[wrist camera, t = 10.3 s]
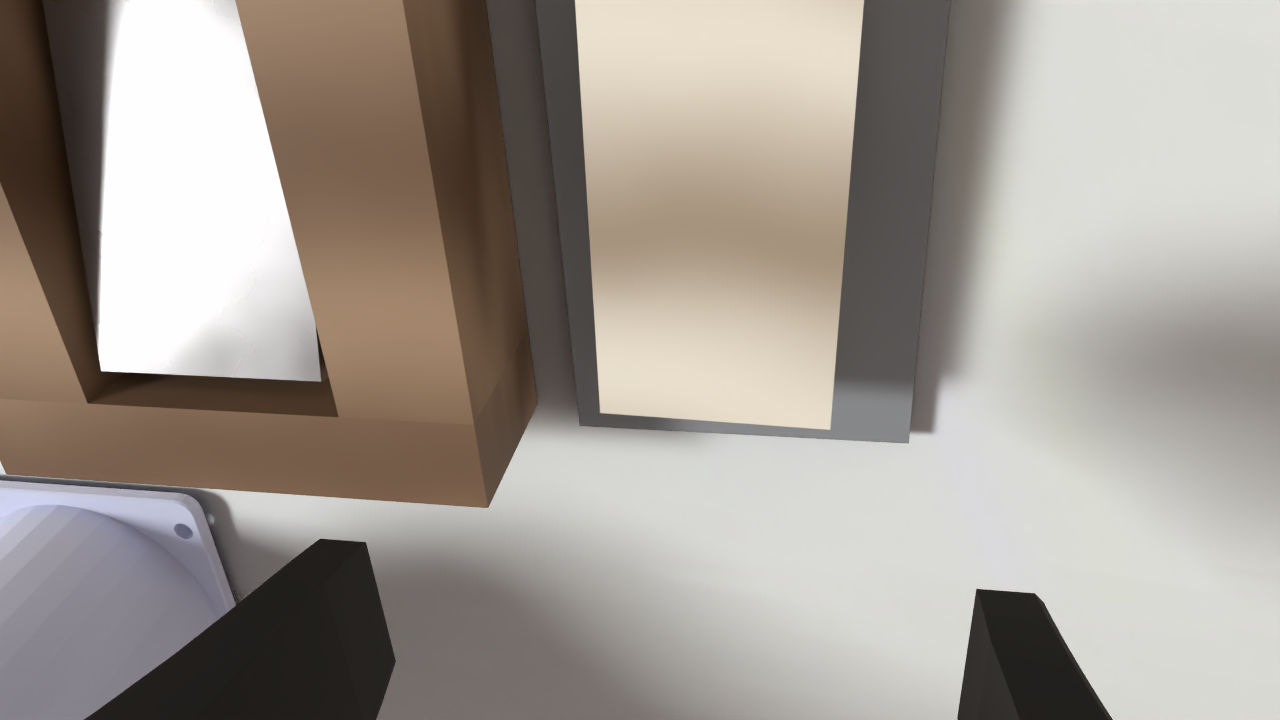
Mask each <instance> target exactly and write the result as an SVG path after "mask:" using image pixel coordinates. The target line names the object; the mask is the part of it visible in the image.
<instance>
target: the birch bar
mask: <svg viewBox="0 0 1280 720" xmlns="http://www.w3.org/2000/svg"><path fill="white" fill-rule="evenodd" d="M863 7H864V0H575V9H576V25H577V41H578V58H579V74H580V91H581V107H582V123H583V140H584V156H585V173H586V189H587V205H588V222H589V238H590V255H591V271H592V287H593V304H594V320H595V337H596V353H597V369H598V386H599V402H600V413H607V414H621V415H635V416H648V417H662V418H675V419H689V420H703V421H716V422H730V423H743V424H757V425H771V426H784V427H798V428H812V429H825V430H830V426H831V414H832V401H833V388H834V375H835V363H836V350H837V337H838V325H839V312H840V299H841V286H842V274H843V261H844V248H845V236H846V223H847V210H848V198H849V185H850V172H851V159H852V147H853V134H854V121H855V109H856V96H857V83H858V71H859V58H860V45H861V32H862V20H863Z"/></svg>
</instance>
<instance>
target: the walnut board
mask: <svg viewBox="0 0 1280 720" xmlns="http://www.w3.org/2000/svg"><path fill="white" fill-rule="evenodd" d="M235 2H236V6H237V10H238V14H239V18H240V22H241V26H242V30H243V34H244V38H245V42H246V46H247V50H248V54H249V58H250V62H251V66H252V70H253V74H254V78H255V82H256V86H257V90H258V94H259V98H260V102H261V106H262V110H263V114H264V118H265V122H266V126H267V130H268V134H269V138H270V143H271V147H272V151H273V155H274V159H275V163H276V167H277V171H278V175H279V179H280V183H281V187H282V191H283V195H284V199H285V203H286V207H287V211H288V215H289V219H290V223H291V227H292V231H293V235H294V239H295V243H296V247H297V251H298V255H299V259H300V263H301V267H302V271H303V275H304V279H305V283H306V287H307V291H308V295H309V299H310V303H311V307H312V311H313V315H314V320H315V324H316V328H317V332H318V336H319V340H320V344H321V348H322V352H323V356H324V360H325V364H326V368H327V372H328V376H329V377H328V378H326V379H325V380H323V381H321V382H319V381H298V380H277V379H256V378H236V377H215V376H194V375H173V374H152V373H131V372H110V371H101V367H100V361H99V355H98V348H97V342H96V336H95V329H94V323H93V317H92V310H91V304H90V298H89V291H88V285H87V279H86V272H85V266H84V260H83V253H82V247H81V241H80V234H79V228H78V222H77V215H76V209H75V203H74V196H73V190H72V184H71V177H70V171H69V165H68V158H67V152H66V146H65V139H64V133H63V127H62V120H61V114H60V108H59V101H58V95H57V89H56V82H55V76H54V70H53V63H52V57H51V51H50V44H49V38H48V32H47V25H46V19H45V13H44V6H43V0H0V461H1V463H2V466H3V468H4V470H5V472H6V474H8V475H22V476H37V477H51V478H65V479H80V480H94V481H108V482H123V483H137V484H152V485H166V486H180V487H195V488H209V489H223V490H238V491H252V492H267V493H281V494H295V495H310V496H324V497H338V498H353V499H367V500H382V501H396V502H410V503H425V504H439V505H453V506H468V507H482V508H488V507H489V505H490V503H491V501H492V498H493V496H494V494H495V492H496V490H497V488H498V486H499V484H500V482H501V480H502V477H503V475H504V473H505V471H506V469H507V467H508V465H509V463H510V461H511V459H512V456H513V454H514V452H515V450H516V448H517V446H518V444H519V442H520V440H521V438H522V435H523V433H524V431H525V429H526V427H527V425H528V423H529V421H530V419H531V417H532V414H533V412H534V410H535V408H536V406H537V396H536V388H535V381H534V373H533V365H532V357H531V350H530V342H529V334H528V326H527V318H526V311H525V303H524V295H523V287H522V280H521V272H520V264H519V256H518V249H517V241H516V233H515V225H514V217H513V210H512V202H511V194H510V186H509V179H508V171H507V163H506V155H505V147H504V140H503V132H502V124H501V116H500V109H499V101H498V93H497V85H496V77H495V70H494V62H493V54H492V46H491V39H490V31H489V23H488V15H487V7H486V0H235Z"/></svg>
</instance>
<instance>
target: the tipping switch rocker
mask: <svg viewBox="0 0 1280 720" xmlns="http://www.w3.org/2000/svg"><path fill="white" fill-rule="evenodd" d="M43 6H44V13H45V19H46V25H47V32H48V38H49V44H50V51H51V57H52V63H53V70H54V76H55V82H56V89H57V95H58V101H59V108H60V114H61V120H62V127H63V133H64V139H65V146H66V152H67V158H68V165H69V171H70V177H71V184H72V190H73V196H74V203H75V209H76V215H77V222H78V228H79V234H80V241H81V247H82V253H83V260H84V266H85V272H86V279H87V285H88V291H89V298H90V304H91V310H92V317H93V323H94V329H95V336H96V342H97V348H98V355H99V361H100V367H101V371H110V372H131V373H152V374H173V375H194V376H215V377H236V378H256V379H277V380H298V381H319V382H321V381H323V380H325V379H326V378H328V377H329V376H328V372H327V368H326V364H325V360H324V356H323V352H322V348H321V344H320V340H319V336H318V332H317V328H316V324H315V320H314V315H313V311H312V307H311V303H310V299H309V295H308V291H307V287H306V283H305V279H304V275H303V271H302V267H301V263H300V259H299V255H298V251H297V247H296V243H295V239H294V235H293V231H292V227H291V223H290V219H289V215H288V211H287V207H286V203H285V199H284V195H283V191H282V187H281V183H280V179H279V175H278V171H277V167H276V163H275V159H274V155H273V151H272V147H271V143H270V138H269V134H268V130H267V126H266V122H265V118H264V114H263V110H262V106H261V102H260V98H259V94H258V90H257V86H256V82H255V78H254V74H253V70H252V66H251V62H250V58H249V54H248V50H247V46H246V42H245V38H244V34H243V30H242V26H241V22H240V18H239V14H238V10H237V6H236V2H235V0H43Z"/></svg>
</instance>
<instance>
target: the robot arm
mask: <svg viewBox="0 0 1280 720" xmlns="http://www.w3.org/2000/svg"><path fill="white" fill-rule="evenodd" d="M186 525H187V526H188V527H187V526H186ZM395 662H396V661H395V657H394V653H393V649H392V645H391V641H390V637H389V633H388V629H387V625H386V621H385V617H384V613H383V609H382V605H381V601H380V597H379V593H378V589H377V585H376V581H375V577H374V573H373V569H372V565H371V561H370V557H369V553H368V549H367V545H366V542H354V541H341V540H328V539H319V540H318V541H317V542H315V543H314V544H313V545H311V546H310V547H309V548H307V549H306V550H305V551H303V552H302V553H301V554H300V555H298V556H297V557H296V558H294V559H293V560H292V561H291V562H289V563H288V564H287V565H286V566H284V567H283V568H282V569H281V570H279V571H278V572H277V573H276V574H274V575H273V576H272V577H271V578H269V579H268V580H267V581H266V582H264V583H263V584H262V585H261V586H259V587H258V588H257V589H256V590H255V591H253V592H252V593H251V594H250V595H248V596H247V597H246V598H245V599H243V600H242V601H241V602H240V603H238V604H237V605H236V604H235V601H234V598H233V595H232V592H231V589H230V587H229V584H228V581H227V578H226V575H225V572H224V569H223V567H222V564H221V561H220V558H219V555H218V552H217V549H216V546H215V544H214V541H213V538H212V535H211V532H210V529H209V526H208V524H207V521H206V518H205V515H204V512H203V509H202V507H201V506H200V504H199V502H197V501H196V500H195V499H194V498H193V497H191V496H189V495H186V494H182V493H172V492H157V491H143V490H129V489H115V488H101V487H87V486H73V485H59V484H45V483H30V482H16V481H2V480H0V720H376V718H377V716H378V713H379V710H380V707H381V705H382V702H383V698H384V695H385V692H386V689H387V686H388V683H389V680H390V677H391V674H392V671H393V668H394V665H395ZM958 720H1113V719H1112V718H1111V716H1110V715H1109V713H1108V712H1107V710H1106V709H1105V707H1104V706H1103V704H1102V702H1101V701H1100V699H1099V698H1098V696H1097V694H1096V693H1095V691H1094V690H1093V688H1092V686H1091V685H1090V683H1089V681H1088V680H1087V678H1086V677H1085V675H1084V673H1083V672H1082V670H1081V668H1080V667H1079V665H1078V663H1077V662H1076V660H1075V658H1074V657H1073V655H1072V653H1071V651H1070V650H1069V648H1068V646H1067V645H1066V643H1065V641H1064V639H1063V638H1062V636H1061V634H1060V632H1059V630H1058V628H1057V627H1056V625H1055V623H1054V621H1053V619H1052V618H1051V616H1050V614H1049V612H1048V610H1047V608H1046V606H1045V604H1044V602H1043V601H1042V600H1041V599H1040V598H1039V597H1038V596H1037V595H1036V594H1035V593H1022V592H1009V591H996V590H983V589H976V596H975V603H974V609H973V616H972V623H971V630H970V636H969V643H968V650H967V657H966V663H965V670H964V677H963V684H962V690H961V697H960V704H959V711H958Z"/></svg>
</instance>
